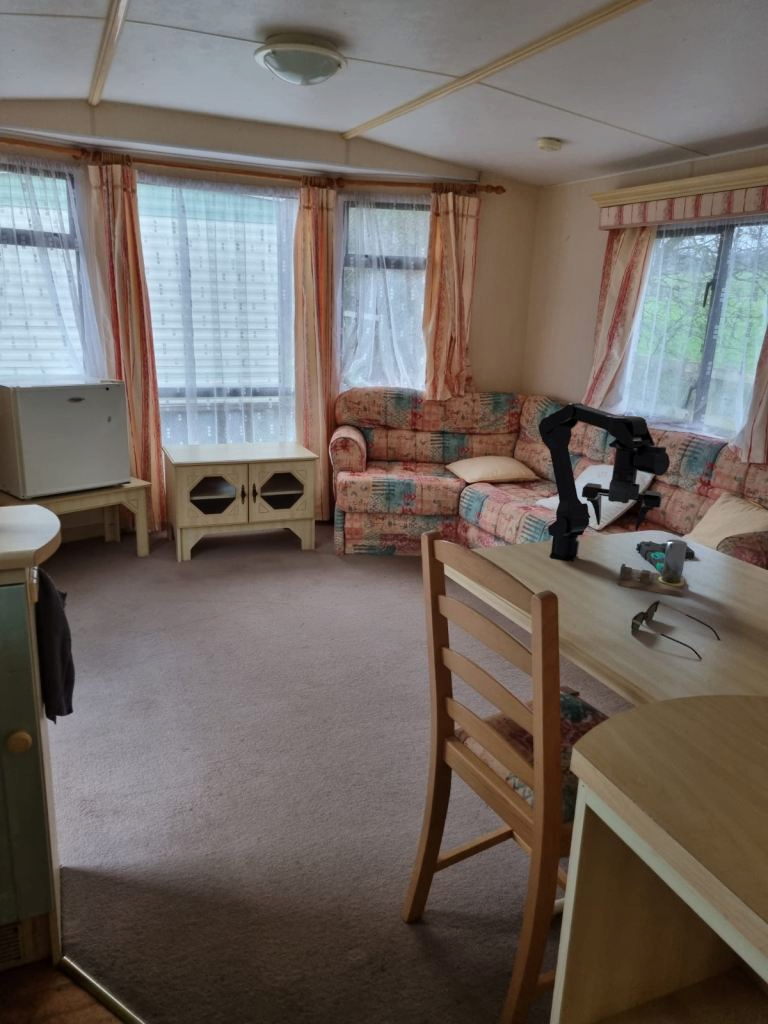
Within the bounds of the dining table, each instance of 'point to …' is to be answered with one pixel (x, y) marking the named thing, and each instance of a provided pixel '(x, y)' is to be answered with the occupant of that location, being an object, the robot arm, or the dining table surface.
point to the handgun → (658, 553)
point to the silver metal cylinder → (674, 561)
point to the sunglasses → (648, 617)
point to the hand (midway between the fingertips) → (617, 527)
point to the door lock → (648, 581)
